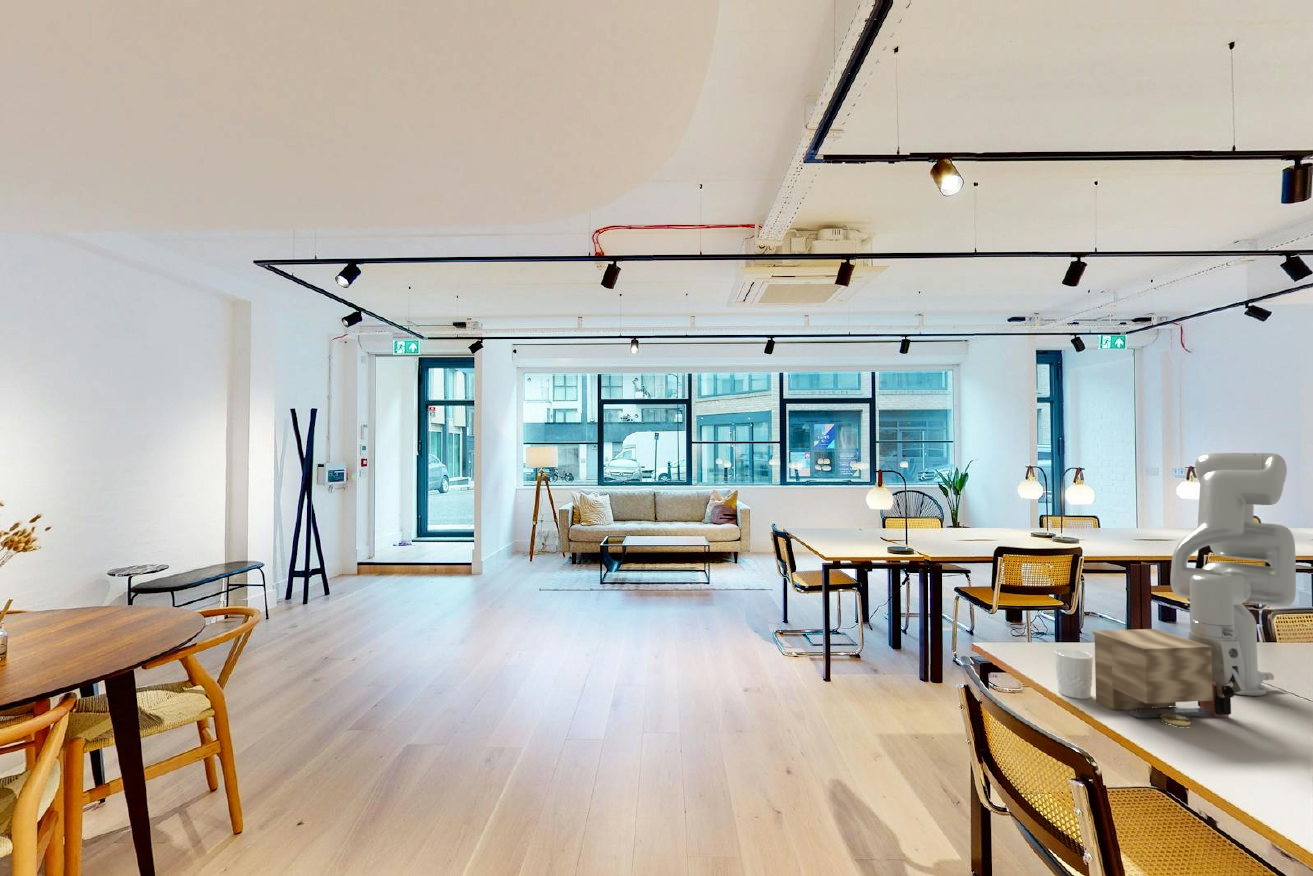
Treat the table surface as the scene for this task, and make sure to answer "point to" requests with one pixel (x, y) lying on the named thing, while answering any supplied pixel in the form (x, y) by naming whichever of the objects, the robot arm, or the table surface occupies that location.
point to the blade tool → (1184, 709)
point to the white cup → (1074, 673)
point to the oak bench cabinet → (1150, 669)
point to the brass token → (1176, 720)
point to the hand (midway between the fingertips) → (1214, 709)
